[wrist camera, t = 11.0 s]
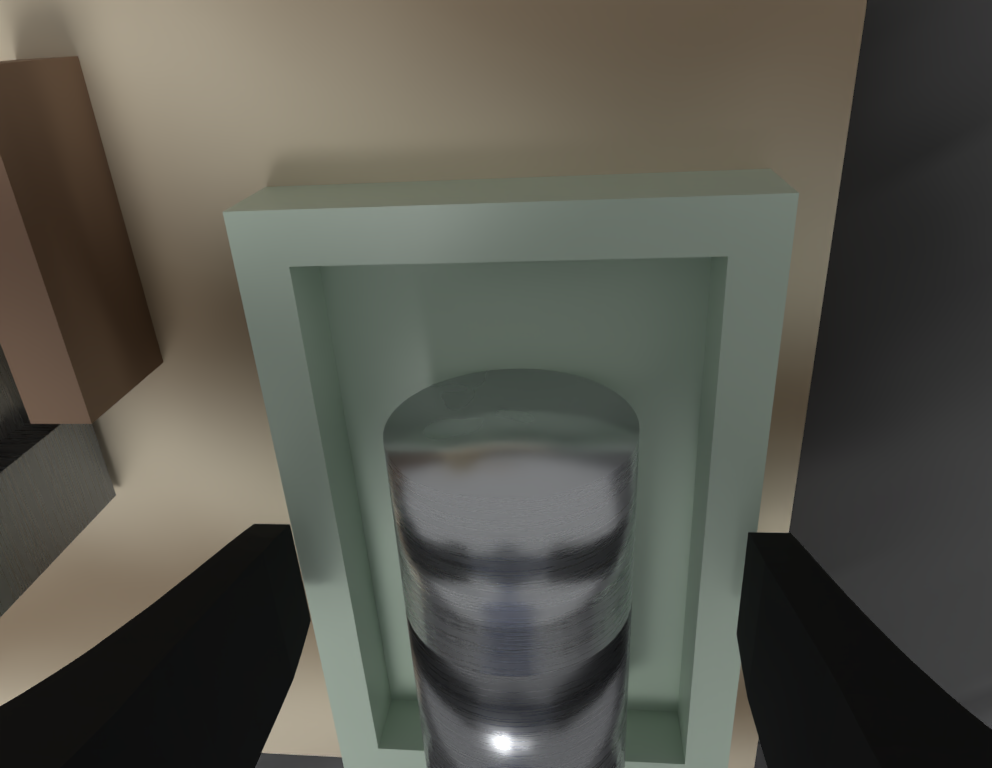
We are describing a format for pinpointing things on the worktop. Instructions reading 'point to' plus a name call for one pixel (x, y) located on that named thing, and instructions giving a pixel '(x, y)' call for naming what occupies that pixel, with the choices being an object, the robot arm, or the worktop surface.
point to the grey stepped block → (42, 489)
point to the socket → (65, 252)
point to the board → (378, 159)
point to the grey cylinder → (517, 566)
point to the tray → (524, 345)
